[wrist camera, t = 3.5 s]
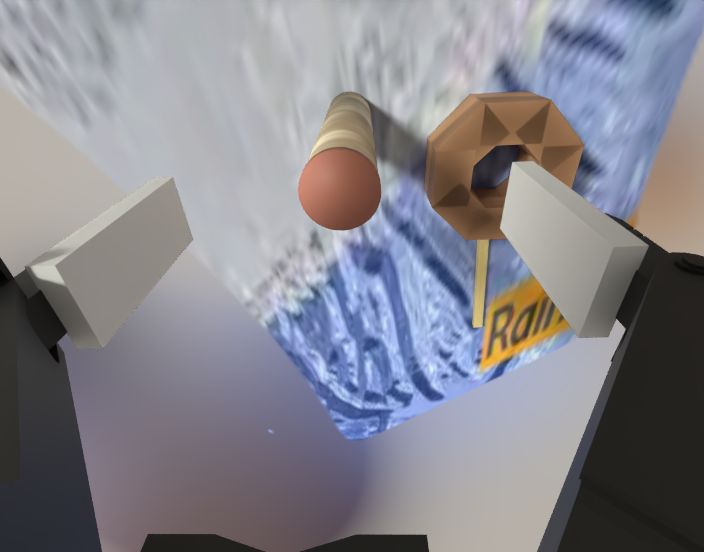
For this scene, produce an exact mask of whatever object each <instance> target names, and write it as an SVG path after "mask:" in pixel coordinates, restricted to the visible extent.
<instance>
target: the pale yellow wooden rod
mask: <svg viewBox="0 0 704 552" xmlns="http://www.w3.org/2000/svg"><path fill="white" fill-rule="evenodd" d="M488 247H489V240H477V253H476V270H475V288H474V305H473V322H472V325H473V327H482V323H483V310H484V298H485V285H486V272H487V259H488Z"/></svg>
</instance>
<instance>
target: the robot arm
mask: <svg viewBox="0 0 704 552" xmlns="http://www.w3.org/2000/svg"><path fill="white" fill-rule="evenodd" d="M500 229H501V230H502V232H503V233H504V235H505V236H506V237H507V239H508V240H509V242H510V243H511V244H512V246H513V247H514V249H515V250H516V251H517V253H518V254H519V256H520V257H521V258H522V260H523V261H524V262H525V264H526V265H527V267H528V268H529V269H530V271H531V272H532V274H533V275H534V276H535V278H536V279H537V281H538V282H539V283H540V285H541V286H542V288H543V289H544V290H545V292H546V293H547V294H548V296H549V297H550V299H551V300H552V301H553V303H554V304H555V306H556V307H557V308H558V310H559V311H560V313H561V314H562V315H563V317H564V318H565V320H566V321H567V322H568V324H569V325H570V326H571V328H572V329H573V331H574V332H575V333H576V335H577V336H578V338H584V337H585V338H589V337H608V336H609V334H610V331H611V330H612V327H613V325H614V323H615V321H616V319H617V320H618V321H619V322H620V323H621V324H622V325H623V326H624V327H625V328H626V330H625V333H624V335H623V337H622V339H621V341H620V343H619V345H618V347H617V349H616V351H615V353H614V355H613V357H612V360H611V361H612V363H611V366H610V369H609V371H608V374H607V376H606V379H605V381H604V384H603V386H602V389H601V391H600V394H599V396H598V399H597V401H596V404H595V406H594V409H593V412H592V414H591V417H590V419H589V422H588V424H587V427H586V429H585V432H584V434H583V437H582V439H581V442H580V444H579V447H578V449H577V452H576V455H575V457H574V460H573V462H572V465H571V467H570V470H569V472H568V475H567V477H566V480H565V483H564V485H563V488H562V490H561V493H560V495H559V498H558V500H557V503H556V505H555V508H554V510H553V513H552V515H551V518H550V520H549V523H548V526H547V528H546V530H545V533H544V536H543V538H542V541H541V543H540V546H539V548H538V551H537V552H704V257H703V256H700V255H696V254H690V253H674V252H672V253H668V252H667V251H665V250H664V249H663V248H661V247H660V246H658V245H657V244H656V243H654V242H653V241H651V240H650V239H648V238H647V237H645V236H643V234H641V233H640V232H639V231H637V230H634V229H633V227H632V226H630V225H629V224H627V223H626V222H624V221H623V220H621V219H619V218H616V217H614V216H611V215H609V214H606V213H603V212H602V211H601V210H599V209H598V208H597V207H595V206H594V205H593V204H591V203H590V202H588V201H587V200H586V199H584V198H583V197H582V196H580V195H579V194H577V193H576V192H575V191H573V190H572V189H571V188H569V187H568V186H567V185H565V184H564V183H562V182H561V181H560V180H558V179H557V178H556V177H554V176H553V175H551V174H550V173H549V172H547V171H546V170H545V169H543V168H542V167H541V166H539V165H538V164H536V163H535V162H534V161H524V162H512V167H511V172H510V177H509V183H508V188H507V193H506V199H505V204H504V209H503V215H502V220H501V225H500ZM192 240H193V237H192V234H191V231H190V228H189V225H188V222H187V219H186V216H185V213H184V210H183V207H182V204H181V200H180V197H179V194H178V191H177V188H176V185H175V182H174V179H173V177H164V178H153V179H152V180H150V181H149V182H147V183H146V184H144V185H143V186H141V187H140V188H139V189H137V190H136V191H134V192H133V193H131V194H130V195H128V196H127V197H125V198H124V199H123V200H121V201H120V202H118V203H117V204H115V205H114V206H112V207H111V208H109V209H108V210H106V211H105V212H104V213H102V214H101V215H99V216H98V217H96V218H95V219H93V220H92V221H91V222H89V223H87V224H86V225H85V226H83V227H82V228H80V229H79V230H77V231H76V232H74V233H73V234H71V235H70V236H68V237H67V238H66V239H64V240H63V241H61V242H60V243H58V244H57V245H55V246H54V247H52V248H51V249H50V250H48V251H47V252H45V253H44V254H42V255H41V256H39V257H38V258H36V259H35V260H33V261H32V262H31V263H29V264H28V265H26V266H25V268H26V269H25V270H24V271H23V272H21V273H20V274H18V275H17V276H15V277H13V276H12V274H11V273H10V271H9V270H8V268H7V267H6V265H5V264H4V262H3V261H2V259H1V258H0V552H102V549H101V544H100V539H99V533H98V528H97V523H96V518H95V512H94V507H93V502H92V497H91V492H90V487H89V481H88V476H87V470H86V465H85V460H84V455H83V449H82V444H81V439H80V434H79V429H78V424H77V418H76V413H75V408H74V402H73V397H72V392H71V387H70V382H69V376H68V371H67V366H66V360H65V355H64V352H63V350H62V349H61V347H60V346H59V344H58V343H57V342H58V341H59V340H60V339H61V338H62V337H63V336H64V335H65V334H66V333H67V334H68V336H69V337H70V339H71V340H72V342H73V343H74V345H75V347H76V348H77V349H94V348H104V347H105V345H106V344H107V343H108V342H109V340H110V339H111V338H112V337H113V336H114V334H115V333H116V332H117V331H118V329H119V328H120V327H121V326H122V325H123V324H124V322H125V321H126V320H127V319H128V317H129V316H130V315H131V314H132V313H133V311H134V310H135V309H136V308H137V307H138V305H139V304H140V303H141V302H142V301H143V299H144V298H145V297H146V296H147V294H148V293H149V292H150V291H151V290H152V288H153V287H154V286H155V285H156V284H157V282H158V281H159V280H160V279H161V278H162V276H163V275H164V274H165V273H166V272H167V270H168V269H169V268H170V267H171V265H172V264H173V263H174V262H175V261H176V260H177V258H178V257H179V256H180V255H181V253H182V252H183V251H184V250H185V249H186V247H187V246H188V245H189V244H190V243H191V241H192ZM141 552H264V551H261V550H259V549H255V548H253V547H249V546H247V545H244V544H241V543H238V542H235V541H232V540H230V539H227V538H224V537H221V536H218V535H215V534H148V535H147V538H146V540H145V542H144V545H143V547H142V549H141ZM301 552H429V549H428V541H427V535H354V536H350V537H347V538H344V539H340V540H337V541H334V542H331V543H327V544H324V545H321V546H317V547H314V548H311V549H307V550H304V551H301Z"/></svg>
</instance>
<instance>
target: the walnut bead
mask: <svg viewBox="0 0 704 552" xmlns="http://www.w3.org/2000/svg"><path fill="white" fill-rule="evenodd" d="M499 145H518V147H519V153H518V158H517V162H524V161H534V162H535V163H536V164H538V165H539V166H541V167H542V168H543V169H545V170H546V171H547V172H549V173H550V174H551V175H553V176H554V177H556V178H557V179H558V180H560V181H561V182H562V183H564V184H565V185H567V186H568V187H569V188H571V189H572V185H573V182H574V179H575V175H576V172H577V168H578V165H579V162H580V158H581V155H582V152H583V148H584V144H583V142H582V141H581V140H580V138H579V137H578V135H577V134H576V133H575V131H574V130H573V129H572V127H571V126H570V125H569V123H568V122H567V121H566V119H565V118H564V116H563V115H562V114H561V112H560V111H559V110H558V108H557V107H556V106H555V104H554V103H553V102H552V100H550V99H547V98H545V97H542V96H539V95H537V94H534V93H531V92H528V91H522V92H503V93H484V94H470V95H469V96H468V97H467V98H466V99H465V100H464V101H463V102H462V103H461V104H460V105H459V106H458V107H457V108H456V109H455V110H454V111H453V112H452V113H451V114H450V115H449V116H448V117H447V118H446V119H445V120H444V121H443V122H442V123H441V124H440V125H439V126H438V127H437V128H436V129H435V130H434V131H433V132H432V134H431V135H430V136H429V137H428V138H427V153H426V169H425V186H424V189H425V191H426V194H427V196H428V199H429V201H430V204H431V206H432V208H433V209H434V210H435V211H436V212H437V213H438V214H439V215H440V216H441V217H442V218H443V219H444V220H446V221H447V222H448V223H449V224H450V225H451V226H452V227H453V228H454V229H455V230H456V231H457V232H458V233H459V234H460V235H461V236H462V237H463V238H464V239H466V240H491V239H507V237H506V236H505V235H504V233H503V232H502V230H501V229H500V225H501V220H502V215H503V209H504V204H505V199H506V193H507V188H508V183H509V177H510V176H509V177H508V178H507V179H505V180H504V181H503V182H502V183H501V184H500V185H498V186H497V187H496V188H486V189H472V188H471V181H472V174H473V166H474V165H475V164H476V163H478V162H479V161H480V160H481V159H482V158H483V157H484V156H485V155H486V154H487V153H489V152H490V151H491V150H492V149H493V148H494V147H495V146H499Z"/></svg>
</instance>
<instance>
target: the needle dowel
mask: <svg viewBox="0 0 704 552" xmlns="http://www.w3.org/2000/svg"><path fill="white" fill-rule="evenodd" d="M298 191H299V199H300V202H301V205H302V207H303V209H304V210H305V212H306V213H307V215H308V216H309V217H310V218H311V219H312V220H313V221H315V222H316V223H317V224H319V225H321V226H323V227H325V228H328V229H332V230H349V229H353V228H356V227H359V226H361V225H362V224H364V223H365V222H367V221H368V220H369V219H370V218H371V217H372V216H373V215H374V213H375V212H376V210H377V208H378V206H379V203H380V199H381V184H380V178H379V174H378V169H377V161H376V153H375V145H374V136H373V128H372V120H371V112H370V107H369V105H368V103H367V101H366V100H365V99H364V98H363V97H362V96H361V95H360V94H357V93H355V92H344V93H342V94H340V95H338V96H337V97H336V98H335V99H334V100H333V101H332V103H331V105H330V107H329V110H328V113H327V115H326V118H325V120H324V123H323V125H322V128H321V130H320V133H319V135H318V138H317V140H316V143H315V145H314V148H313V150H312V153H311V156H310V158H309V161H308V163H307V164H306V166H305V168H304V170H303V172H302V175H301V178H300V181H299V188H298Z"/></svg>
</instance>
